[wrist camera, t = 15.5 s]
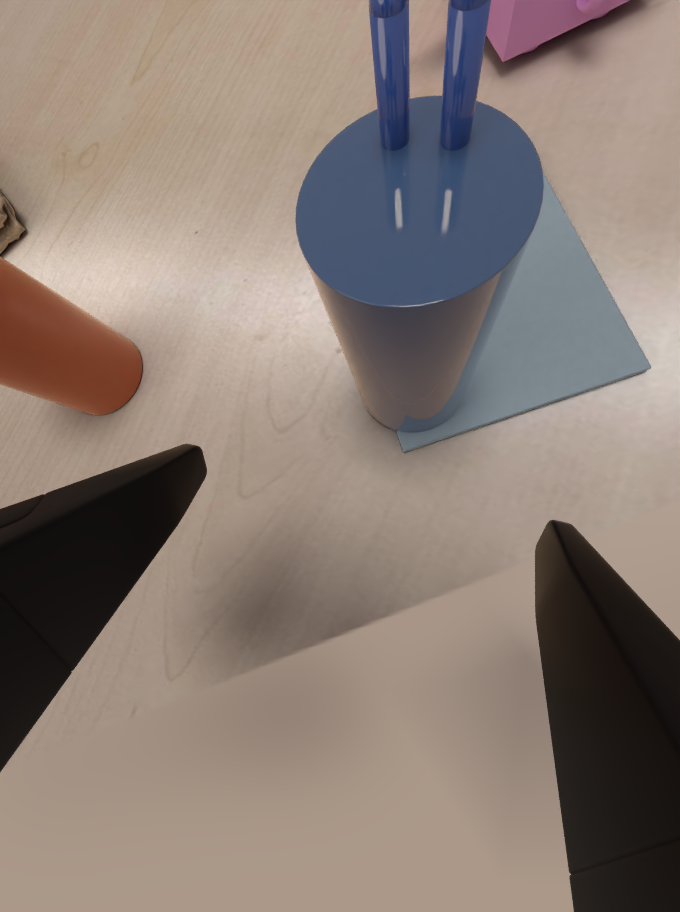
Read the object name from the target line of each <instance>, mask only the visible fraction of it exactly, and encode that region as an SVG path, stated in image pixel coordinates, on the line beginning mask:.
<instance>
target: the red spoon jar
mask: <svg viewBox="0 0 680 912" xmlns="http://www.w3.org/2000/svg"><path fill="white" fill-rule="evenodd" d="M141 375H142V359H141V355H140V353H139V350H138V349H137V347H136V346H135V345H134V343H133V342H131V341H130V340H129V339H127V338H126V337H124V336H123V335H121V334H120V333H118V332H117V331H115V330H113V329H112V328H110V327H109V326H107V325H106V324H104V323H103V322H101V321H100V320H98V319H96V318H95V317H93V316H92V315H90V314H89V313H87V312H86V311H84V310H83V309H81V308H79V307H78V306H76V305H75V304H73V303H72V302H70V301H69V300H67V299H65V298H64V297H62V296H61V295H59V294H58V293H56V292H55V291H53V290H52V289H50V288H48V287H47V286H45V285H44V284H42V283H41V282H39V281H38V280H36V279H34V278H33V277H31V276H30V275H28V274H27V273H25V272H24V271H22V270H21V269H19V268H17V267H16V266H14V265H13V264H11V263H10V262H8V261H7V260H5V259H3V258H2V257H0V385H3V386H6V387H9V388H12V389H15V390H18V391H21V392H24V393H27V394H30V395H33V396H36V397H39V398H42V399H45V400H48V401H51V402H54V403H57V404H60V405H63V406H66V407H69V408H72V409H75V410H78V411H81V412H84V413H87V414H90V415H105V414H108V413H111V412H114V411H116V410H117V409H119V408H121V407H122V406H123V405H124V404H126V403H127V402H128V401H129V399H130V398H131V397H132V396H133V394H134V393H135V391H136V389H137V387H138V385H139V382H140V379H141Z"/></svg>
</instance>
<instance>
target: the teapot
mask: <svg viewBox="0 0 680 912" xmlns="http://www.w3.org/2000/svg"><path fill="white" fill-rule="evenodd" d="M628 1H630V0H491V5H490V12H489V18H488V25H487V32H486V36H487V37H488V39H489V41H490V42H491V44H492V45H493V47H494V49H495V50H496V52H497V53H498V55H499V57H500V58H501V60H502V61H503V62H505V61H507V60H509V59H511V58H513V57H515V56H517V55H519V54H521V53H528V52H530V51H533V50H534V49H536V48H537V47H538V45H540V44H542V43H544V42H546V41H548V40H550V39H552V38H554V37H556V36H558V35H560V34H562V33H564V32H566V31H568V30H570V29H572V28H574V27H577V26H579V25H581V24H583V23H585V22H587V21H589V20H591V19H597V18H600V17H602V16H604V15H605V14H607V13H608V12H609V10H611V9H613V8H615V7H617V6H619V5H621V4H624V3H626V2H628Z"/></svg>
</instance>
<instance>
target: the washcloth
mask: <svg viewBox="0 0 680 912" xmlns="http://www.w3.org/2000/svg"><path fill="white" fill-rule="evenodd" d="M23 231H25V229H24V228H23V227H22V226H21V224H20V223H19V222H18V221H17V220H16V217H15V212H14V210H13V208H12V207H11V205H10V204H9V202H8V201H7V199H6V198H5V197H4V196H3V195H2V194H1V193H0V254H1V252H2V251H3V250H4V249H5V248H6V247H7V245H8V244H9V243H10V242H13V241H14V240H17V239H19V238H20V237H19V236H20V234H21V233H22V232H23Z"/></svg>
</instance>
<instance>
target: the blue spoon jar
mask: <svg viewBox="0 0 680 912" xmlns="http://www.w3.org/2000/svg"><path fill="white" fill-rule="evenodd" d="M490 5H491V0H449V7H448V21H447V36H446V50H445V65H444V79H443V94H442V96H426V97H417V98H412V99H410V94H409V0H369V13H370V25H371V37H372V49H373V60H374V72H375V84H376V96H377V107H378V109H377V110H374V111H372V112H370V113H368V114H367V115H365V116H363V117H361V118H359V119H358V120H356V121H355V122H353V123H352V124H350V125H349V126H347V127H346V128H345V129H344V130H342V131H341V132H340V133H339V134H337V135H336V136H335V137H334V138H333V139H332V140H331V141H330V142H329V143H328V144H327V145H326V146H325V148H324V149H323V150H322V151H321V153H320V154H319V155H318V156H317V158H316V159H315V161H314V162H313V164H312V165H311V167H310V169H309V170H308V173H307V175H306V177H305V179H304V181H303V184H302V186H301V189H300V192H299V196H298V201H297V206H296V231H297V237H298V241H299V245H300V248H301V250H302V253H303V255H304V258H305V260H306V263H307V265H308V267H309V270H310V272H311V275H312V277H313V280H314V282H315V285H316V287H317V289H318V292H319V294H320V297H321V299H322V302H323V304H324V307H325V309H326V311H327V314H328V316H329V319H330V321H331V324H332V326H333V329H334V331H335V333H336V336H337V338H338V341H339V343H340V346H341V348H342V351H343V353H344V356H345V358H346V360H347V363H348V365H349V368H350V370H351V373H352V375H353V378H354V380H355V382H356V385H357V387H358V390H359V392H360V395H361V397H362V400H363V402H364V404H365V406H366V408H367V410H368V411H369V412H370V414H371V415H372V416H373V417H374V418H375V419H376V420H377V421H378V422H380V423H381V424H383V425H384V426H386V427H388V428H391V429H393V430H396V431H401V432H408V433H413V432H423V431H427V430H430V429H433V428H435V427H438V426H439V425H441V424H443V423H444V422H446V421H447V420H448V419H450V418H451V417H452V416H453V415H454V414H455V413H456V411H457V410H458V409H459V407H460V405H461V404H462V402H463V400H464V397H465V395H466V392H467V390H468V388H469V385H470V383H471V380H472V378H473V375H474V373H475V371H476V368H477V366H478V363H479V361H480V358H481V356H482V354H483V351H484V349H485V346H486V344H487V341H488V339H489V337H490V334H491V332H492V329H493V327H494V324H495V322H496V320H497V317H498V315H499V312H500V310H501V307H502V305H503V302H504V300H505V298H506V295H507V293H508V290H509V288H510V285H511V283H512V281H513V278H514V276H515V273H516V271H517V268H518V266H519V264H520V261H521V259H522V256H523V254H524V251H525V249H526V247H527V244H528V242H529V239H530V237H531V234H532V232H533V230H534V227H535V225H536V222H537V220H538V217H539V214H540V210H541V206H542V202H543V192H544V180H543V170H542V166H541V162H540V159H539V156H538V153H537V151H536V149H535V147H534V145H533V143H532V142H531V140H530V139H529V137H528V136H527V134H526V133H525V132H524V131H523V130H522V128H521V127H520V126H519V125H518V124H517V123H516V122H515V121H513V120H512V119H511V118H509V117H508V116H507V115H505V114H504V113H502V112H500V111H499V110H497V109H495V108H493V107H491V106H489V105H486V104H483V103H481V102H478V101H476V98H477V92H478V85H479V78H480V72H481V65H482V58H483V52H484V45H485V38H486V32H487V25H488V18H489V12H490Z"/></svg>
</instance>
